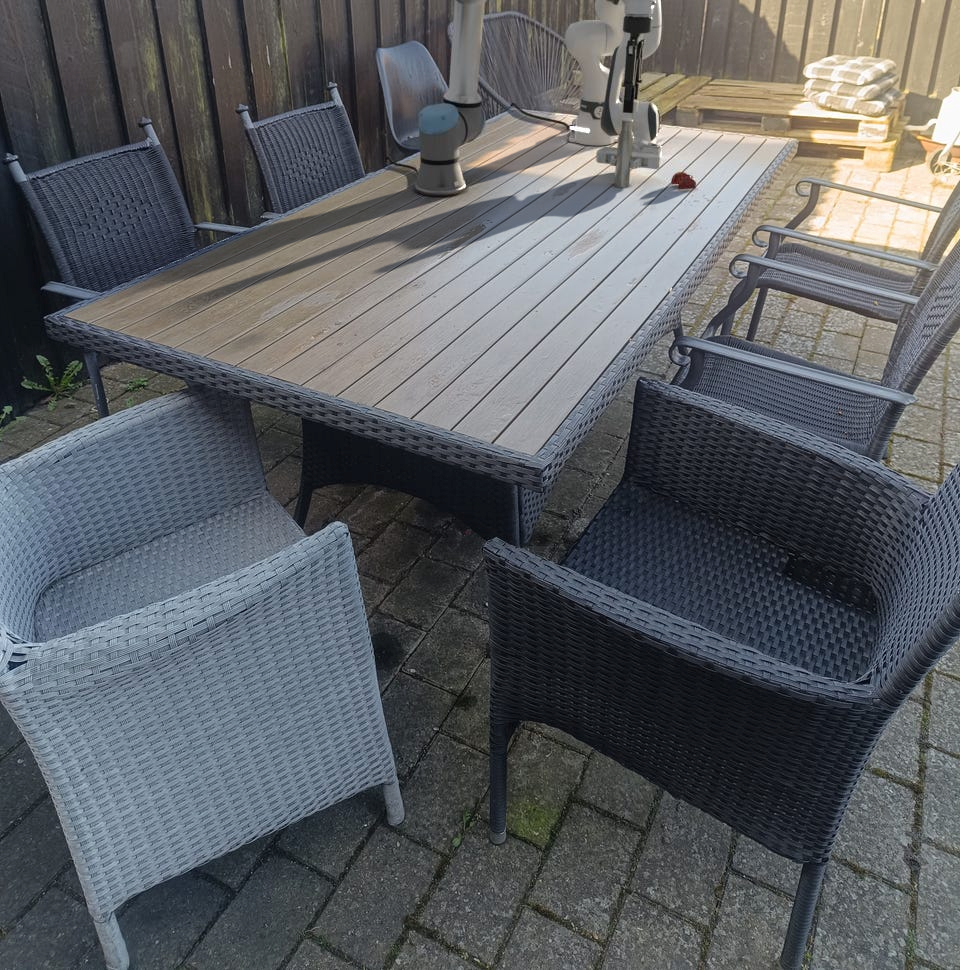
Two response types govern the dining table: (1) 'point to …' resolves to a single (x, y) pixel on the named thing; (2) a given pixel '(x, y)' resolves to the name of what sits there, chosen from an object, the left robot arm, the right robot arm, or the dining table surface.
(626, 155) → the bottle
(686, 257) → the dining table surface
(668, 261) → the dining table surface
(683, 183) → the dental model
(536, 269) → the dining table surface
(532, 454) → the dining table surface
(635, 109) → the cap
